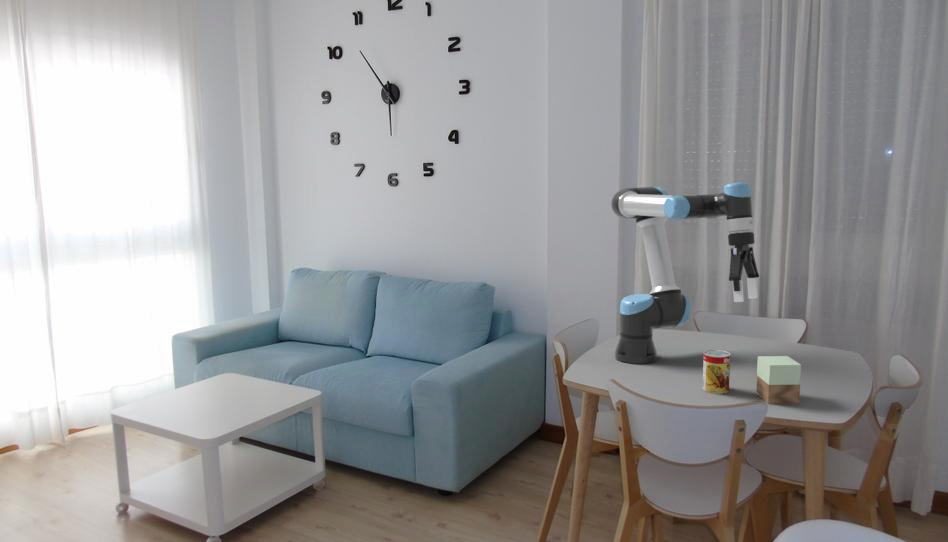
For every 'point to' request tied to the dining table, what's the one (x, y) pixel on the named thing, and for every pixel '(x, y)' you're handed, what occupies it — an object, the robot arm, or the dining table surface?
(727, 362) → the canned food
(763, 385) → the walnut block
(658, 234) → the robot arm
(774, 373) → the sage block
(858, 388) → the dining table surface
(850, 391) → the dining table surface
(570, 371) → the dining table surface
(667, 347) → the dining table surface
